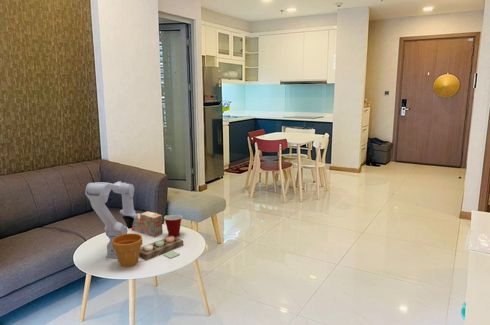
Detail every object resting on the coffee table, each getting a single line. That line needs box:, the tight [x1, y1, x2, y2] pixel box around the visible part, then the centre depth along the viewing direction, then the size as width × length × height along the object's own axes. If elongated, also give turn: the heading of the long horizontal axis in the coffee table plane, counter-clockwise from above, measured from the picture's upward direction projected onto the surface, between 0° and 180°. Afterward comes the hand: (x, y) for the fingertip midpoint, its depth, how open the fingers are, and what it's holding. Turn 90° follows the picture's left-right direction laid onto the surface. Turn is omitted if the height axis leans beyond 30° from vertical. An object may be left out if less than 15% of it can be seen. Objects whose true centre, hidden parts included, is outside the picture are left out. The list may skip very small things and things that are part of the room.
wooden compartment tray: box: [139, 236, 184, 261], centre depth 200 cm, size 24×10×3 cm, turn 139°
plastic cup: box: [163, 214, 183, 238], centre depth 218 cm, size 11×11×12 cm
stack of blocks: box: [131, 210, 164, 238], centre depth 224 cm, size 21×6×12 cm, turn 55°
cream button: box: [143, 244, 153, 252], centre depth 194 cm, size 4×4×3 cm
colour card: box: [162, 250, 181, 259], centre depth 194 cm, size 6×6×1 cm
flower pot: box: [112, 232, 143, 268], centre depth 184 cm, size 14×14×13 cm
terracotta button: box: [165, 236, 174, 243], centre depth 205 cm, size 4×4×3 cm
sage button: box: [154, 239, 164, 248], centre depth 200 cm, size 4×4×3 cm
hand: (129, 228), depth 207 cm, fingers closed
